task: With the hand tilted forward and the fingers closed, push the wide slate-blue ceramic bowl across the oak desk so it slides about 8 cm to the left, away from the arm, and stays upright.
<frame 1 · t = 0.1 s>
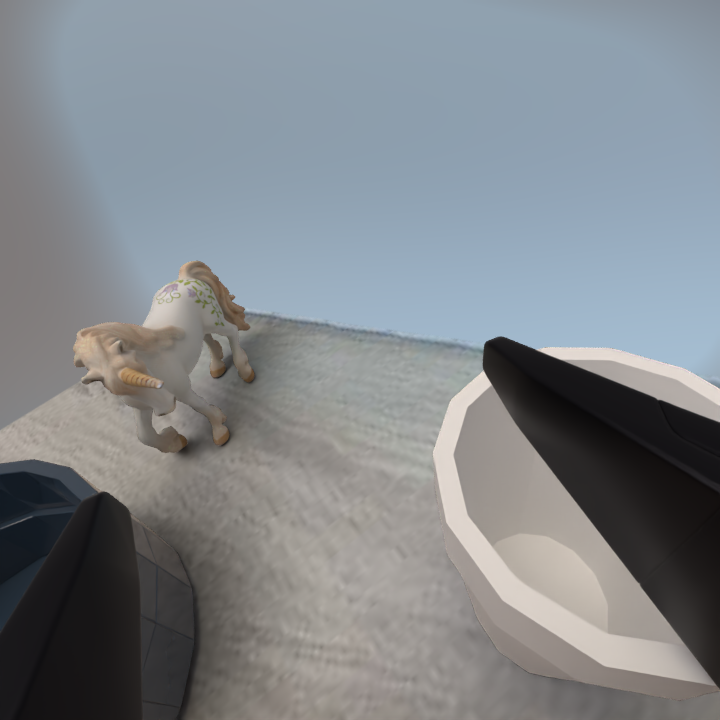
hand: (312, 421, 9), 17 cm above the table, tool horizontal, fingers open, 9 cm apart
foam cup: (536, 600, 20), on the table
bowl: (44, 686, 21), on the table
unicorn figurine: (250, 414, 32), on the table
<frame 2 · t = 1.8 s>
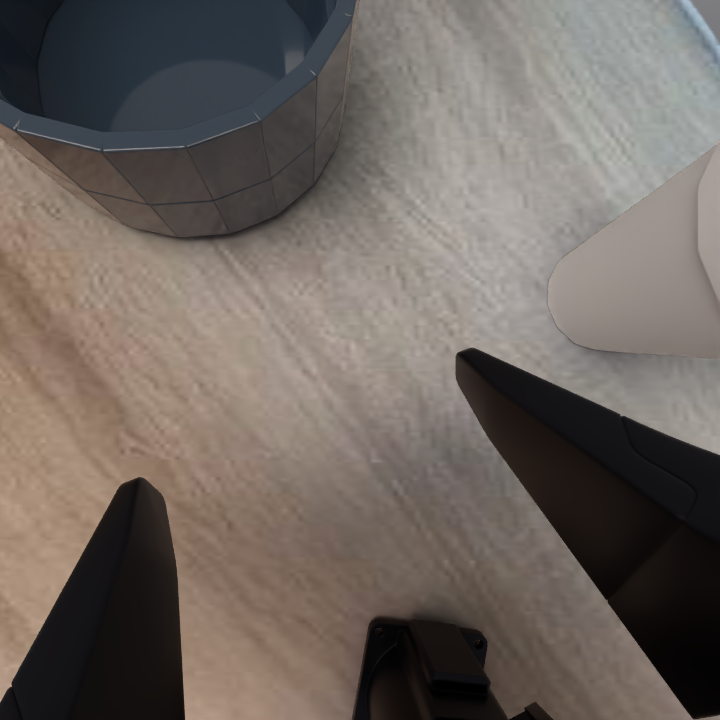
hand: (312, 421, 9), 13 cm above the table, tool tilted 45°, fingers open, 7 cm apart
foam cup: (593, 297, 24), on the table
bowl: (191, 91, 22), on the table
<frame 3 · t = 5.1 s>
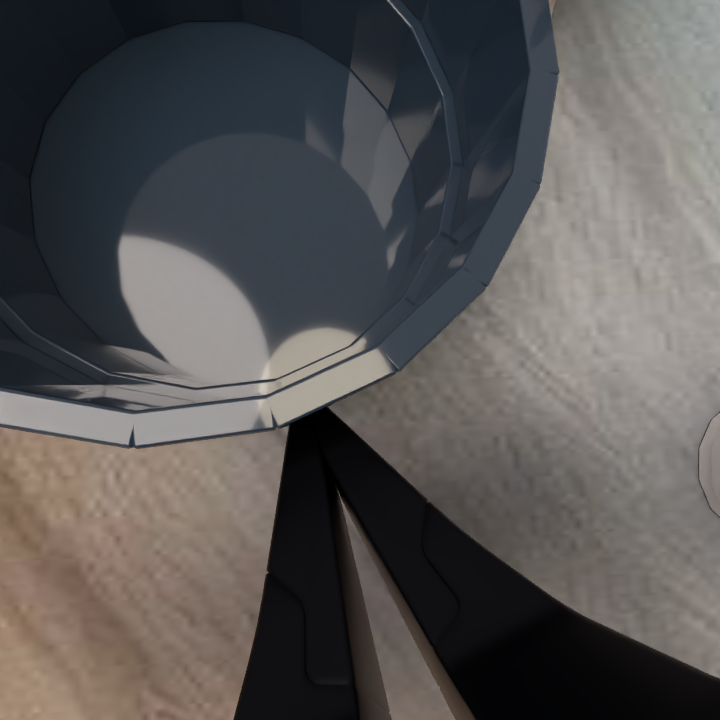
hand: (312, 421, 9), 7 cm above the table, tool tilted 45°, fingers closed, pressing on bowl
bowl: (237, 206, 16), on the table, touching gripper
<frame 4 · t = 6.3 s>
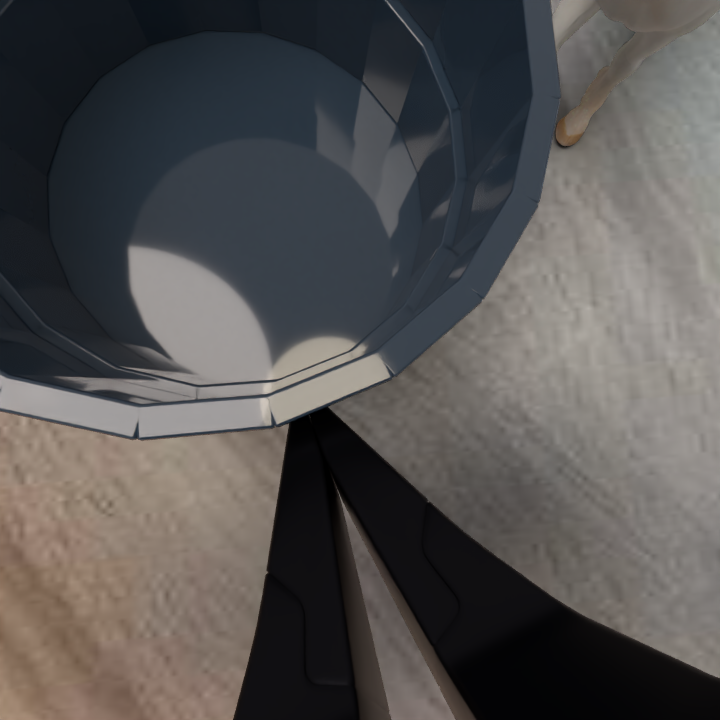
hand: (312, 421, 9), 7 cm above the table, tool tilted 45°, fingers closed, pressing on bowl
bowl: (247, 210, 17), on the table, touching gripper
unicorn figurine: (611, 120, 19), on the table
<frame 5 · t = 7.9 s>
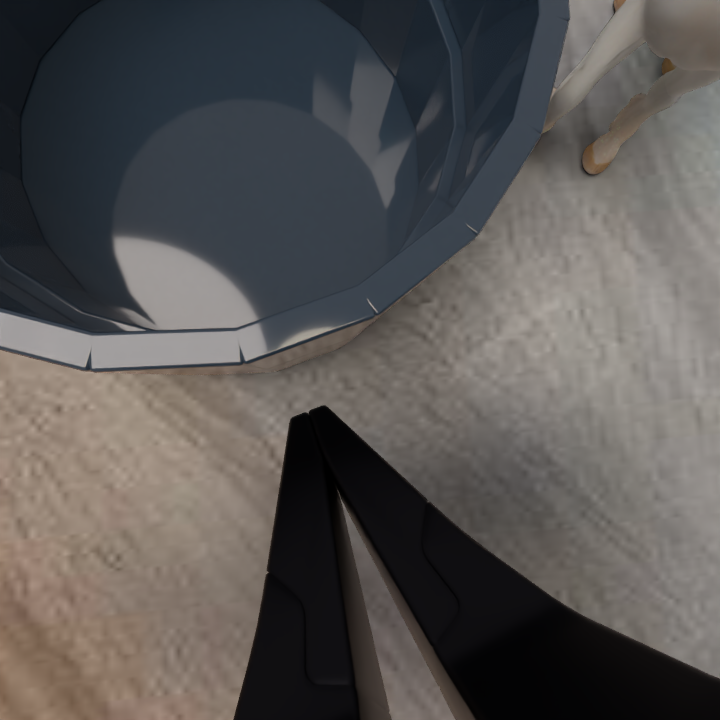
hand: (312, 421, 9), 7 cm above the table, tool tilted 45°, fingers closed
bowl: (234, 164, 16), on the table
unicorn figurine: (639, 146, 18), on the table
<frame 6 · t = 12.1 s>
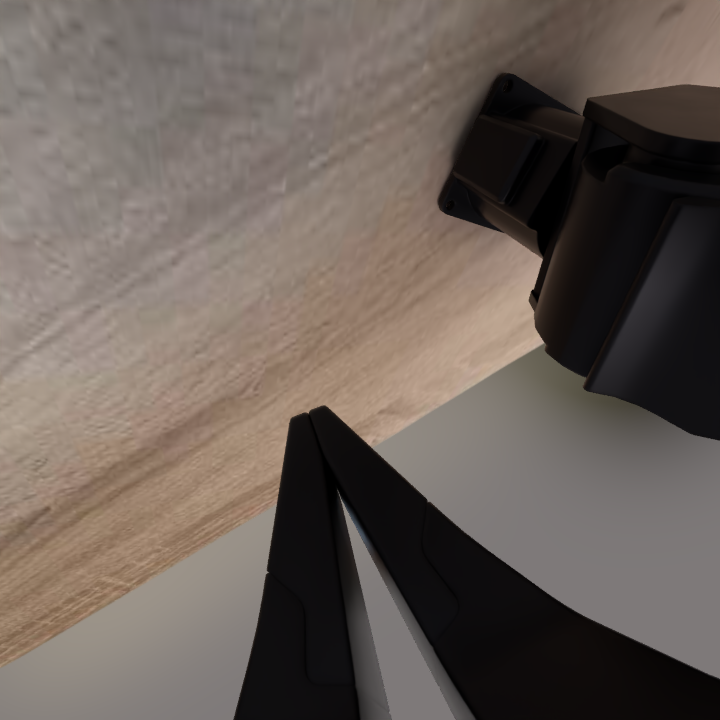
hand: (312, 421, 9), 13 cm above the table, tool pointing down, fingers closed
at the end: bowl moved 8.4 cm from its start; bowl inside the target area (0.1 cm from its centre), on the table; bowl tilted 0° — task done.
